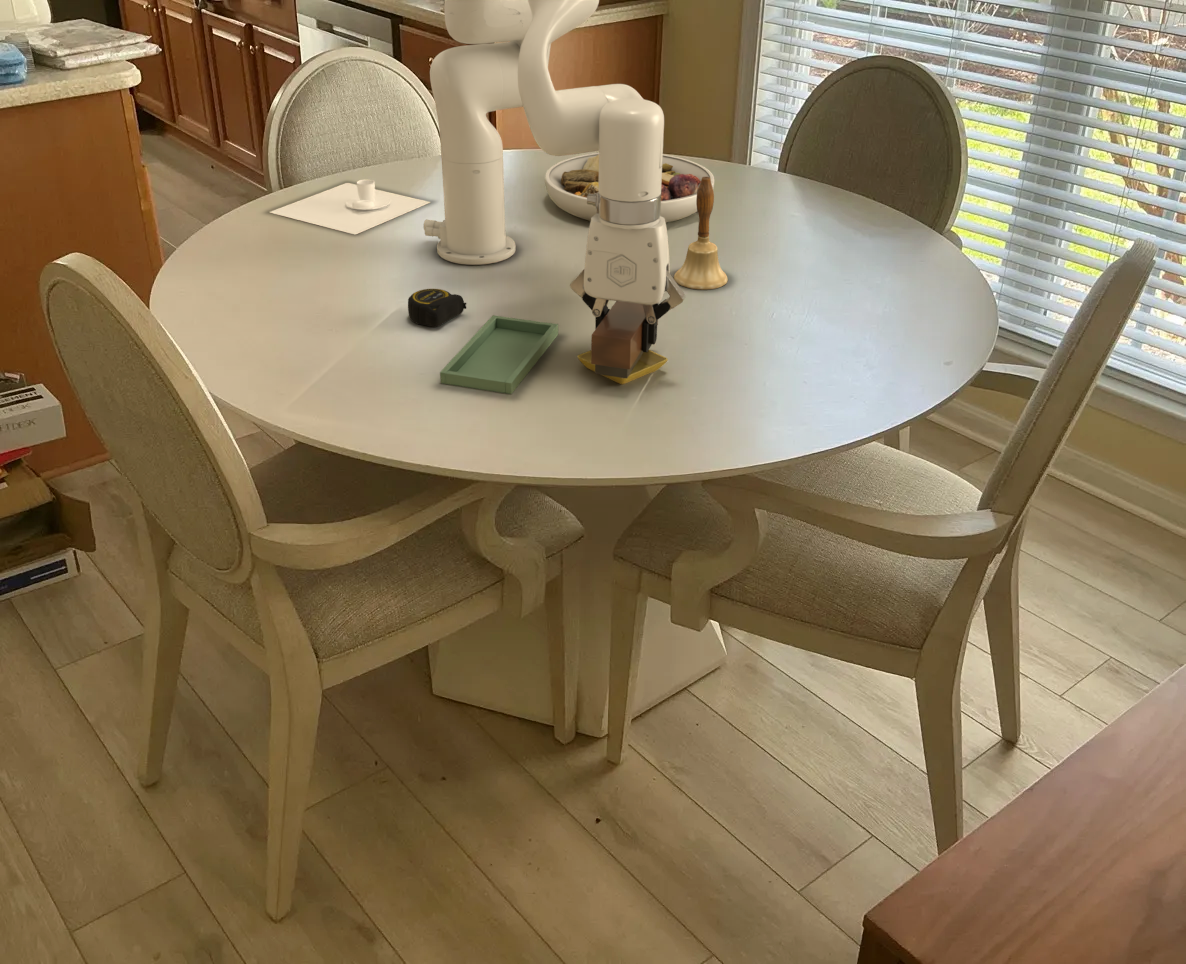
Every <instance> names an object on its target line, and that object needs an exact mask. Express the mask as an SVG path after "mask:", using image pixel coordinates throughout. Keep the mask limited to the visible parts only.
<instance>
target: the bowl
mask: <svg viewBox="0 0 1186 964" xmlns="http://www.w3.org/2000/svg"><path fill="white" fill-rule="evenodd" d="M702 177H710V178H711V184H712V187H713V189H714V188H715V176H714V174H713V173H712V172H711V171H710V170H709V169H708V168H707V167H705V166H704V165H702V164H701V163H700V164H699V163H697V162H695V161H692V160H689V159H687V158H682V157H678V156H675V155H670V154H664V153H663V158H662V182H661V209H660V216H661V217H664V219H665V223H666V224H667V223H670V222H675V221H678V220H682V219H685V218H688V217H690V216H692V215H693V214H695V213H698V211H697V205H696V199H697V191H698V188H699V186H700V183H701V180H702ZM544 182H545V189H546V192H547V194H548V196H549V198H550V200H551V201H552V202H553V203H554V204H555V205H556V206H557V207H558V208H559V209H561V210H563V211H564V212H566V213H568V214H569V215H572V216H574V217H576V218H579V219H582V220H585V221H589V222H591V218H592V217H593V216H594V215H595V214H596V213H597V209H596V207H595V206H593V205H588V204H587V196H588V194H594V193H597V192H598V191H599V152H594V153H587V154H586V153H585V154H581V155H577V156H573V157H569V158H566V159H563V160H561V161H558V162H556V163H555V164H553V165H551V166H550V167H549V168H548V169H547V170H546V172H545V175H544Z"/></svg>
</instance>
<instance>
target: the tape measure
mask: <svg viewBox="0 0 1186 964" xmlns="http://www.w3.org/2000/svg"><path fill="white" fill-rule="evenodd" d="M464 310H467V302H465V300H464V298H463V296H462V295H460V294H458V293H457V294H455V293H451V292H449V291H447V290H445V289H440V288H423V289H420V290H417V291H415V292H413V293H412V294H411V295H410V296H409V297H408V299H407V313H408V317H409V319H410V321H412V322H413V323H415V324H417V325H420V326H426V327H433V328H434V327H435V328H437V327H440V326H442V325H443V324H445V323H447V322H448V321H450V320H452V319H454V318H456V317H457V316H459V315H461V314H463V312H464Z"/></svg>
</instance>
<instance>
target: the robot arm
mask: <svg viewBox="0 0 1186 964" xmlns="http://www.w3.org/2000/svg"><path fill="white" fill-rule="evenodd" d="M599 3H600V0H444V5H443V6H444V8H443V9H444V23H445V28H446V30H447V33H448V34H449V36H450V37H451V38H452V39H453V40H454V41H456V42H458V43H460V44H467V45H460V46H454V47H450V48H447V49H444V50H442V51H441V52H439V53H438V54H437V55H436V56H435V57H434V58H433V60H432V62H431V64H430V68H429V81H430V86H431V91H432V95H433V100H434V106H435V108H436V116H437V121H438V130H439V141H440V157H441V171H442V172H441V173H442V175H441V176H442V191H443V206H444V207H443V209H444V219H443V220H442V221H438V220H434V219H425V220H424V222H423V231H424V235H425V236H426V237H437V238H438V239H439V241H438V243H437V245H436V250H437V251H436V252H437V255H438V256H439V257H440V258H441V259H443V260H445V261H447V262H451V263H455V264H460V265H470V266H478V265H479V266H480V265H489V264H490V265H491V264H494V263H499V262H502V261H505V260H507V259H509V258H511V257H512V256H513V255H514V254H515V253H516V242H515V240H514V239H513V238H511V237H510V236H508V235H506V210H505V209H506V207H505V206H506V205H505V177H504V175H505V172H504V145H503V140H502V138H501V134H500V133H499V132H498V130H497V129H496V127H495V126H494V125H493V124H492V123H491V122H490V120H489V119H488V117H487V113H491V112H496V111H501V110H503V111H504V110H510V109H517V108H523V110H524V114H525V117H526V120H527V123H528V126H529V129H530V132H531V134H532V137H533V139H534V141H535V142H536V145H537V146H538V147H539V148H540V150H542V151H543V152H544V153H545V154H547V155H550V156H554V157H565V156H571V155H572V156H573V155H579V154H586V153H592V152H598V153H599V191H598V192H597V193H594V194H588V196H587V204H588V205H593V206H595V207H596V209H597V213H596V214H595V215H594V216H593V217H592V218H591V221H589V226H588V233H587V240H586V247H585V255H584V256H585V257H584V268H583V269H582V270H581V272H579V274H577V276H576V277H575V278H574V279H573V281H572V282H571V283H570V284H569V287H570V289H571V290H572V291H573V292H574V293H575V294H576V295H577V296H578V297H579V298H581V299H582V301H583V302H584V304H585V305H586V306H587V308H589V309H590V310H591V312H592V316H593V317H595V318H594V319H595V321H594V323H595V327H594V330H595V329H596V328H597V327H598V325H599V324H600V323H601V321H602V320H603V319H604V317H605V316H606V314H607V313H608V312H609V310H610V309H611V308H609V306H608V305H609V303H610V302H609V301H613V302H616V301H620V302H628V303H636V304H642V305H643V308H644V312H645V316H646V317H645V321H644V323H643V325H642V351H643V352H648V350H650V348H651V347H652V345H655V344H656V342H657V339H658V325H657V320H658V321H659V319H661V318H662V317H663V316H665V315H666V314H667V313H668V312H669V311H671V310H673V309H674V308H676V307H677V306H679V305H681V304H682V303H683V302H684V300H685V299H686V294H685V293H684V292H683V290H682V288H681V287H680V285H679V284H678V283H676V281H675V280H674V276H673V275H671V273H670V266H671V265H670V246H669V237H668V229H667V223H665V219H664V217H661V216H660V209H661V182H662V158H663V154H664V135H665V134H664V131H665V115H664V111H663V109H662V107H661V106H660V105H659V104H658V103H656V102H654V101H651V100H648V99H644V98H643V97H642V96H641V94H640V92H638V91H637V90H636V89H635V88H633V87H632V86H630V85H628V84H625V83H611V84H603V85H591V86H583V87H574V88H567V89H566V88H565V89H564V88H563V89H558V90H556V89H555V87H554V83H553V81H552V77H551V74H550V71H549V62H550V55H551V54H550V53H551V45H552V43H553V42H555V41H556V40H558V39H559V38H561V37H563V36H564V35H566V34H568V33H569V32H571V31H573V30H575V29H576V28H578V27H579V26H581V25H582V24H584V23H585V22H586V21H588V20H589V19H590V17H592V15H594V14H595V12H596V10H597V9H598V7H599ZM665 293H667V294H668V295H669V297H667V298H665V299H664V300H662V299H663V298H664V295H665ZM661 300H662V301H661Z"/></svg>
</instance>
